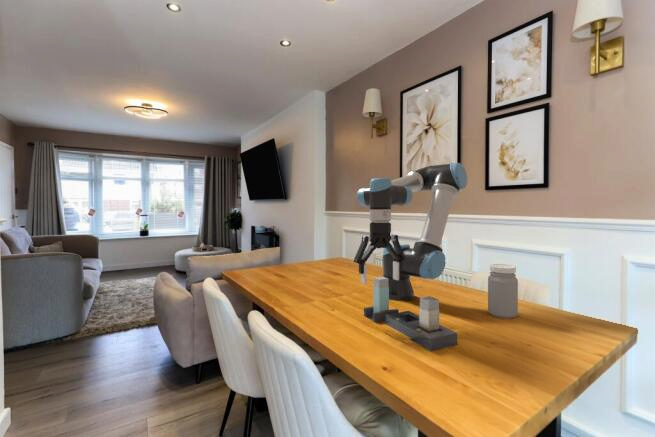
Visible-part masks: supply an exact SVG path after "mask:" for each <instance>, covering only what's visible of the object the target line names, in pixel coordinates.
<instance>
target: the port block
mask: <svg viewBox="0 0 655 437" xmlns="http://www.w3.org/2000/svg"><path fill="white" fill-rule="evenodd" d="M439 303H440V299H438V298H435V297H434V296H430V295H429V296H424V297H423V296H422V297H420V298H419V307H418V308H419V310H418V311H419V314H417V313H415V312H413V311H410V310H405V311H399V312H398V313H393V314H387V315H385V321H384V324H385V325H387V326H388V327H390V328H392V329H394V330H395V331H397V332H398V333H400V334H401V335H404V336H406V337H408V338H409V340H410V341H411V342H413V343H414V344H417V345H418V346H419V347H422V348H423V349H425V350H427V351H428V352H434V351H438V350H441V349H446V348H450V347H454V346H457V345H458V332H456V331H455V330H452V329H450V328H448V327H445V326H443V325H441V324H440V309H439V308H440V307H439V306H440V304H439Z"/></svg>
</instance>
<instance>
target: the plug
mask: <svg viewBox="0 0 655 437" xmlns="http://www.w3.org/2000/svg"><path fill="white" fill-rule="evenodd" d="M372 280H373V285H372V290H373V291H372V301H373V302H372V303H373V304H372V306H373V312H379V311H385V310H390V299H389V287H388V278H385V277H383V276H376V277H373V278H372Z"/></svg>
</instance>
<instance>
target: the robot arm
mask: <svg viewBox="0 0 655 437" xmlns="http://www.w3.org/2000/svg"><path fill="white" fill-rule="evenodd" d="M467 185H468V175H467V170H466V168H465V166H464V165H463V164H462V163H460V162H455V163H454V162H450V163H443V164H434V165H428V166H424V167H422V168H419V169H415V170H413V171H410V172H409V173H408V174H406V175H405V176H402V177H399V178H395V179H393V180H392V179H390V178H389V177H374V178H372V179H370V181H369V187H367V186H366V187H365V186H364V187H363V188H359V190H357V193H356V199H357V200H356V201H357V202H358V203H357V204H359V205H360V206H362V207H369V221H370V222H369V236H367V235H362V236H361V242H360V245H359V246H358V250H357V252H356V253H355V256H354V259H353V263H356V264H358V273H359V274H360V283H361V284H364V285H366V284H367V283H368V282H367V280H368V278H367V277H368V276H367V274H368V273H367V272H368V271H367V269H368V267H367V266H368V265H367V264H366V263H367V261H368V260H369V258H370V257H371V255H372V254H373V252H374V251H375V250H377V249H382V250H383V252H382V272H383V274H382V277H385V278H388V287H389V300H390V301H391V300H393V301H404V302H405V301H411V300H412V299H414V298H415V292H414V288H413V286H412V283H411V277H414V278H415V277H416V278H421V279H424V280H427V279H428V280H436V279H438V278H439V277H440V276H441V275H442V274H443V272H444V271H445V267H446V255H445V253H444V252H443V251H444V249H443V248H442V246H441V244H442V241H443V236H444V233H445V229H446V226H447V223H448V218H449V215H450V211H451V209H452V208H451V207H452V204H453V200H454V198H456V197H457V196H458V195H459V192H460V190H463V189H465V188H466V187H467ZM420 191H431V192H432V193H433V194H432V198H431V201H430V204H429V208H428V211H427V214H426V218H425V221H424V225H423V228H422V231H421V234H420V237H419V239H418V240H416V241H415V242H414V245H413V248H411V246H410V244H408V243H406V244H404V243H403V244H400V242H399V235H398V234H391V233H392V223H391V222H390V221H392V206H398V207H404V206H408V205H409V204H410V203H411V202H412V200H413V193H417V192H420ZM369 242H370V243H369Z"/></svg>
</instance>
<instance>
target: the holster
mask: <svg viewBox="0 0 655 437" xmlns="http://www.w3.org/2000/svg"><path fill="white" fill-rule="evenodd" d="M398 312H400V310H399V308H391V309H389V310H385V311H379V312H373V305H372V306H366V307H363V317H365V318H367V320H370V321H372V323H375V324H377V323H382V322H385V315H387V314H393V313H398Z"/></svg>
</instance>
